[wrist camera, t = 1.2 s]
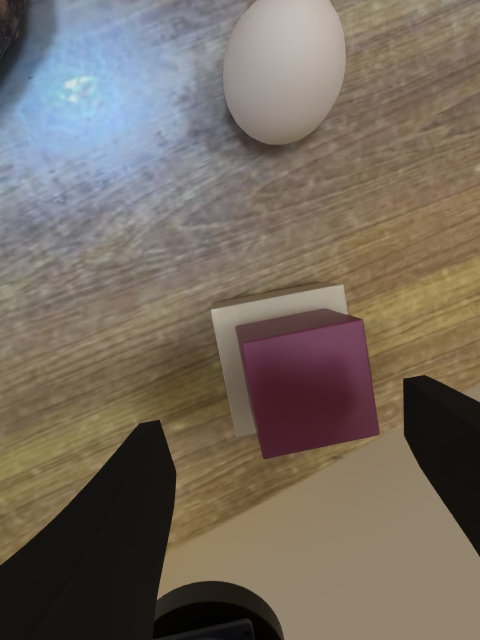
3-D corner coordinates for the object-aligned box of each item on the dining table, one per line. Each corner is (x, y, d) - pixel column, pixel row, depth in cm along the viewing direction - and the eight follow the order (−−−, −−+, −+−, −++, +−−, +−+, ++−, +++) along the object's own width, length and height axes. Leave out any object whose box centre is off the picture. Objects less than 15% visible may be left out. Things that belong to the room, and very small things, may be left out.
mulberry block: (340, 396, 18) (380, 435, 14) (252, 414, 18) (263, 460, 14) (326, 307, 18) (363, 318, 13) (234, 325, 18) (241, 343, 13)
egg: (266, 37, 20) (297, -111, 12) (337, 109, 21) (408, 11, 13) (201, 114, 20) (192, 16, 13) (273, 183, 21) (306, 129, 13)
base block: (337, 387, 22) (363, 411, 18) (232, 409, 22) (235, 438, 18) (320, 282, 22) (343, 283, 18) (211, 303, 21) (210, 309, 17)
